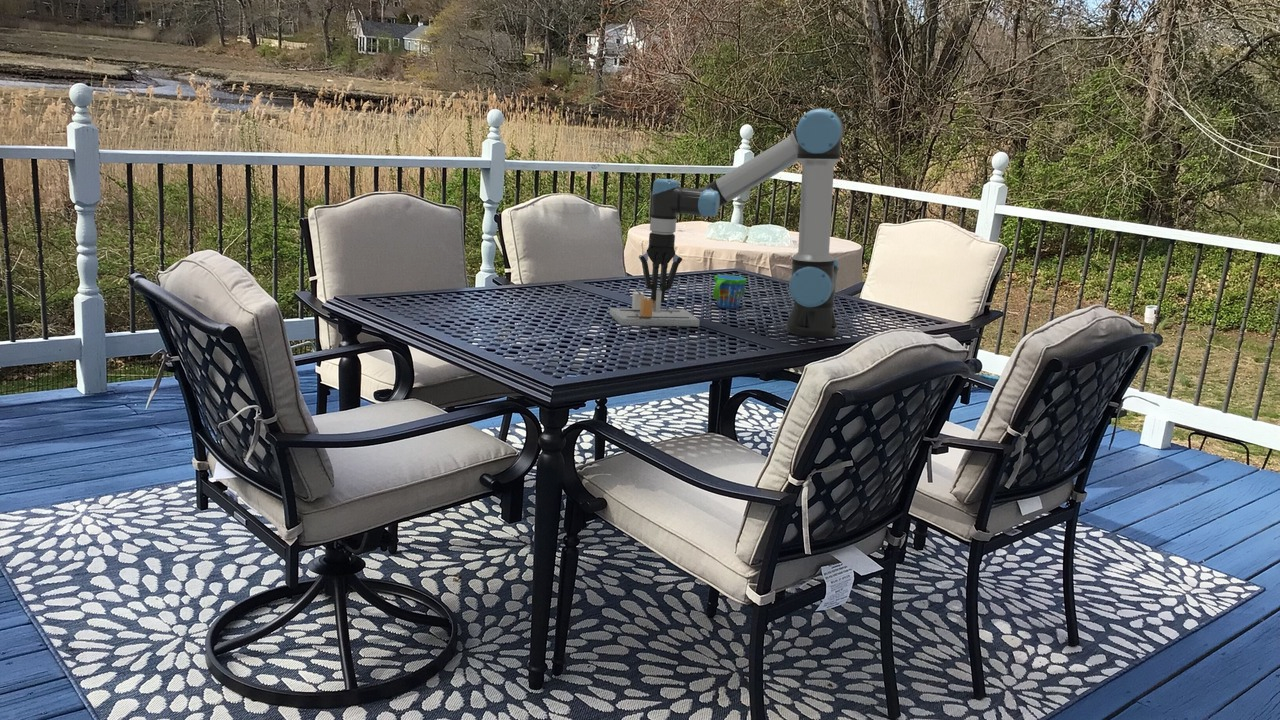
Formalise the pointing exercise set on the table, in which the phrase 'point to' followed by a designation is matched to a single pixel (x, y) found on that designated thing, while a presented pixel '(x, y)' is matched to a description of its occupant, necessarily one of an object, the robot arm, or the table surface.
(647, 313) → the block
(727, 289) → the snack cup
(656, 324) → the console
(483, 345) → the table surface
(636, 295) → the block
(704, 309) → the table surface
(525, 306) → the table surface
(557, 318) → the table surface
